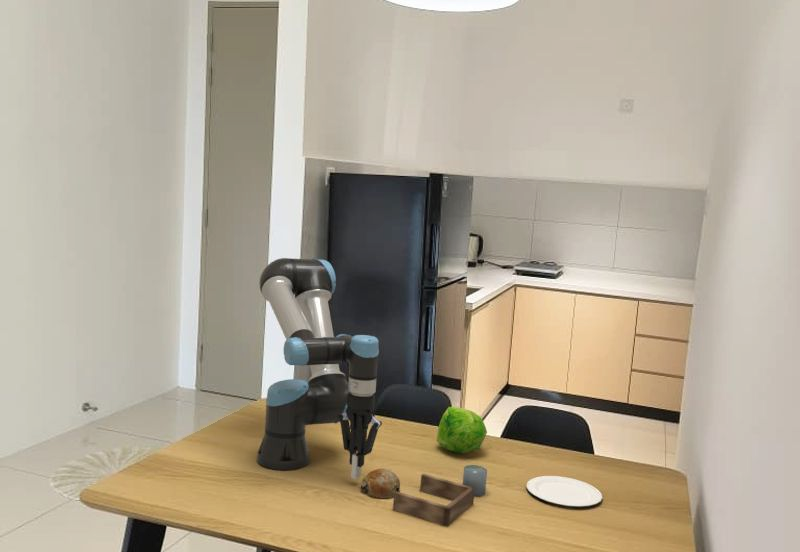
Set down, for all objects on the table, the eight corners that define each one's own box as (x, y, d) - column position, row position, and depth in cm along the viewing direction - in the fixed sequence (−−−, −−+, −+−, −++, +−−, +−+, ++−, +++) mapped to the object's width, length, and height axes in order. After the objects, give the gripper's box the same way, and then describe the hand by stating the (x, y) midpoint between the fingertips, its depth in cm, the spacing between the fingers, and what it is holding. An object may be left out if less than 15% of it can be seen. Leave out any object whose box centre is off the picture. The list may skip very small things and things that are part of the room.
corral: (392, 509, 182) (394, 492, 181) (422, 489, 196) (423, 473, 195) (447, 526, 174) (448, 508, 174) (473, 504, 189) (474, 487, 188)
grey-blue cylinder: (458, 492, 196) (460, 469, 195) (467, 485, 201) (469, 463, 201) (479, 498, 193) (481, 475, 192) (488, 491, 198) (490, 468, 198)
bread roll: (387, 514, 187) (401, 489, 186) (354, 492, 189) (368, 468, 187) (394, 499, 197) (408, 475, 196) (363, 479, 198) (377, 455, 197)
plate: (603, 489, 207) (604, 483, 207) (599, 517, 187) (600, 511, 187) (531, 475, 214) (532, 470, 213) (520, 501, 194) (520, 495, 194)
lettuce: (469, 440, 242) (484, 404, 239) (479, 470, 223) (495, 432, 220) (429, 427, 240) (443, 392, 237) (434, 457, 221) (450, 419, 218)
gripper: (333, 391, 194) (328, 475, 196) (375, 400, 188) (368, 487, 190) (348, 386, 200) (343, 467, 203) (389, 394, 194) (383, 478, 196)
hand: (355, 476), depth 196 cm, fingers closed
